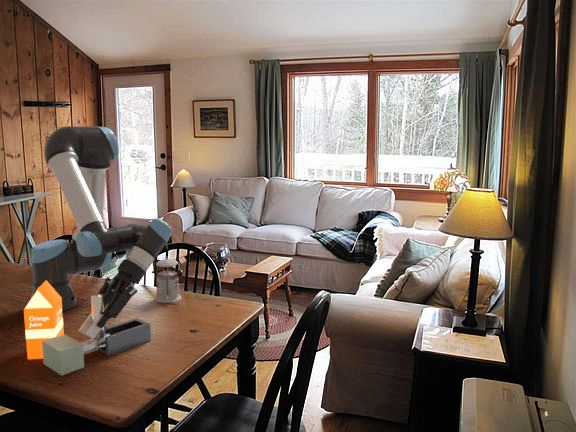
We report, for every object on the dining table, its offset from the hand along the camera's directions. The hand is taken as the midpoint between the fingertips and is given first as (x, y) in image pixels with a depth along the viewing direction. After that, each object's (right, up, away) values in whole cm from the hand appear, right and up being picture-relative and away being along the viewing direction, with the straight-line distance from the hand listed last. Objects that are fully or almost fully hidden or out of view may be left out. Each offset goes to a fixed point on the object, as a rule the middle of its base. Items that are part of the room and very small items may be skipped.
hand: (86, 334), depth 140 cm
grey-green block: (-4, -7, -4) cm, 10 cm away
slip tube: (0, -5, +1) cm, 5 cm away
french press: (+11, +1, +50) cm, 51 cm away
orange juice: (-13, -6, +4) cm, 15 cm away
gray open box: (+7, -5, +10) cm, 13 cm away
